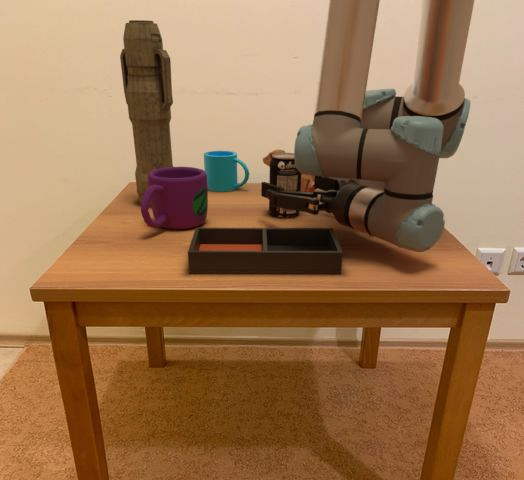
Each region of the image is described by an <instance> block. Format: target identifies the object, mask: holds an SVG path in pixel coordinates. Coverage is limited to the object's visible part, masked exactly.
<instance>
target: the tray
mask: <svg viewBox="0 0 524 480" xmlns="http://www.w3.org/2000/svg"><path fill="white" fill-rule="evenodd" d="M343 255H344V252H343V250H342V247H341V245H340V243H339V240H338V238H337V236H336V232H335V231H334V228H333V227H208V226H207V227H202V226H201V227H200V226H197V227H195V228H194V231H193V235H192V238H191V240H190V243H189V248H188V251H187V259H188V260H187V261H188V273H189V274H229V275H230V274H232V275H233V274H235V275H237V274H241V275H242V274H243V275H246V274H247V275H249V274H250V275H251V274H253V275H254V274H255V275H256V274H259V275H260V274H264V275H265V274H268V275H274V274H275V275H341V274H342V267H343Z"/></svg>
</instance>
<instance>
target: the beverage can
mask: <svg viewBox="0 0 524 480" xmlns="http://www.w3.org/2000/svg"><path fill="white" fill-rule="evenodd" d="M268 183H270V184H272V185H275V186H281V188H284V190H285V191H298V192H301V173H300V172H299V171H298V170H297V168H296V165H295V160H294V152H286V153H276V154H273V155H272V160H271V161H270V167H269V182H268ZM268 211H269V212H270V214H271V216H274V217H275V218H276V217H277V218H293V217H295V216H297V215H298V214H299V213H300V211H296V210H290V209H284V208H277V207H272V206H271V200H270V199H268Z"/></svg>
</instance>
